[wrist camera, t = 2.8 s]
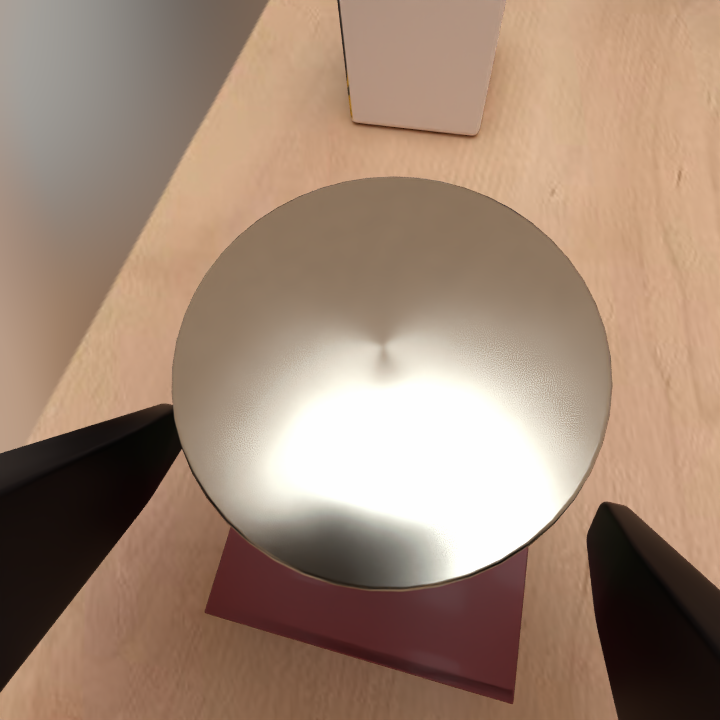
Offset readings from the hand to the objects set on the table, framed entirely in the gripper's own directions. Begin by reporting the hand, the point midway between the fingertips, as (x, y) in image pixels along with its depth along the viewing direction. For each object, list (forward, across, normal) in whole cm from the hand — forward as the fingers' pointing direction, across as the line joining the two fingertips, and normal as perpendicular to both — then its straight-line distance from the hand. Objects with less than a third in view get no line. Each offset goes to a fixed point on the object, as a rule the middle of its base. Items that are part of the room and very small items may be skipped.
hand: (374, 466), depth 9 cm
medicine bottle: (+23, +3, -9) cm, 25 cm away
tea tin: (+6, 0, +4) cm, 7 cm away
